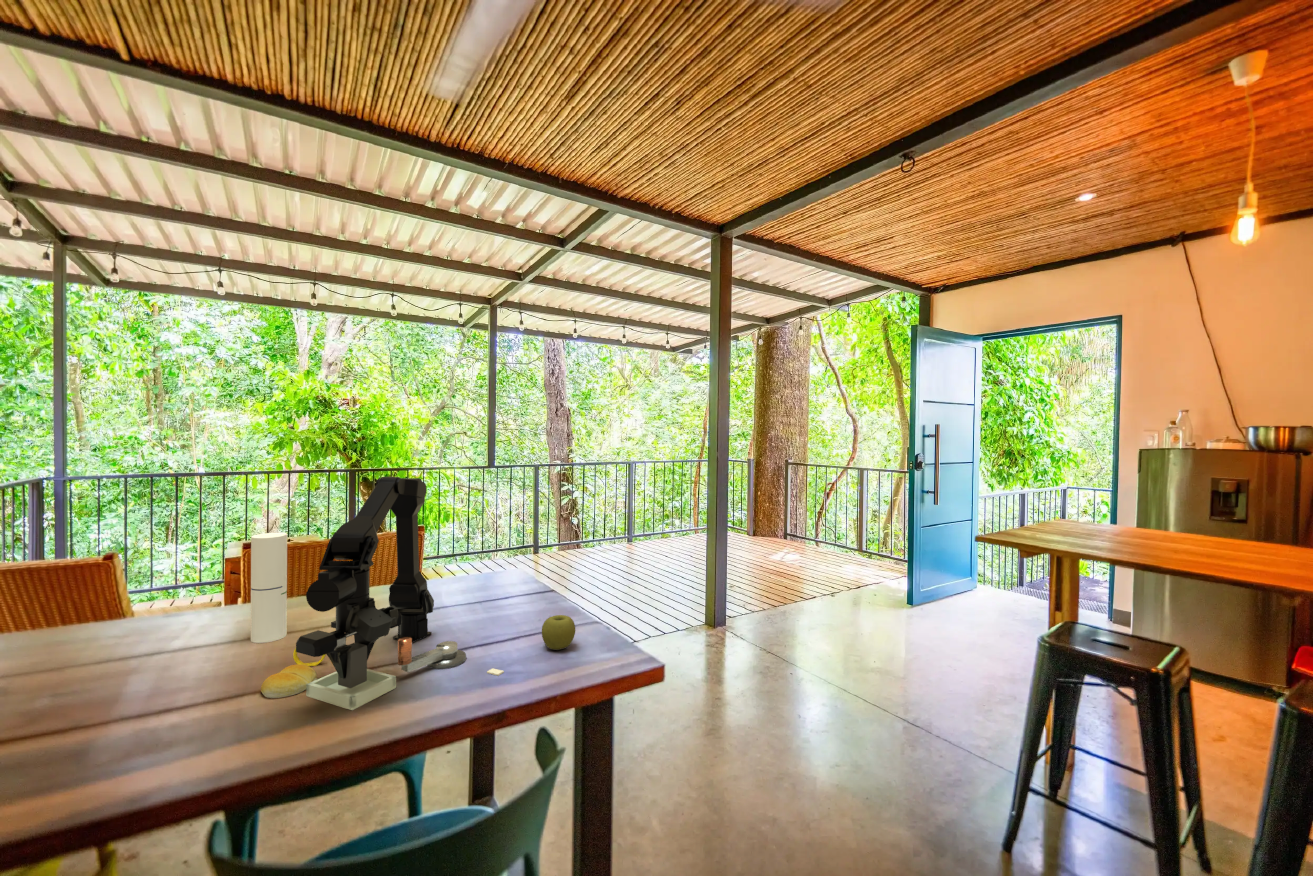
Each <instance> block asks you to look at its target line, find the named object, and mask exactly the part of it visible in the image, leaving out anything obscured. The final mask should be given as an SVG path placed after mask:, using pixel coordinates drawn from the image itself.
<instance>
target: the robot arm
mask: <svg viewBox="0 0 1313 876" xmlns="http://www.w3.org/2000/svg"><path fill="white" fill-rule="evenodd" d="M375 482H376V483H375V487H374V488H373V489H372V491H371V493H370V495H368V497H367V499H366V501H365V502H364V503H363V505H362V507H361V508H360V509H359V511H358V513H357V514H356V515H355V517H354V518H353V519H351V520H348V521H347V522H345V523H342V525H341V526H340V527H339V528H338V529H336V531H335V532H334V533H333V534H332V536H331V537H330V538H329V541H328V543H327V547H326V549H325V550H324V551H325V552H324V554H323V557H322V560H321V562H320V565H319V571H320V572H318V574H317V579H316V580H315V581H313V582H312V583H311V584H310V585H309V586H308V587H307V588H308V589H307V591H306V593H305V597H306V601H307V604H308V605H309V607H311V609H312V610H314V611H317V612H321V613H324V612H328V611H330V610H333V609H334V608H335V620H333V621H332V622H330V628H333V629H335V630H334V631H331V632H327V631H323V630H319V629H317V630H314V631H312V632H309V633H306V634H302V635H301V636H299V637H298V638H297V640H296V642H295V648H296V652H297V654H298V653H299V654H302V655H306V656H310V657H313V658H318V657H322V656H323V655H324V654H326V656H327V657H328V659H329V661H330V662H331V664H332V666H333V667H334V669H335V672H336V671H337V673H338V675H339V676H340V678H342V679H344V678H346V672H347V652H348V650H349V649H350V648H351V646H350V645H349V644H347V638H349V637H351V636H353V637H354V639H353V640H354V643H359V644H363V645H367V661H368V660H369V657H370V655H371V652H372V649H373V647H374V645H375V643H376V642H377V640H379V638H382V637H386V636H388V635H389V633H390V630H391V629H394V628H396V627H397V634H396V635H393V636H392V639H393V640H397V641H398V639H400V638H403V637H411V638H412V644H413V643H415V642H417V641H419V640H422V639H425V638H426V637H428V636H430V635H431V636H432V631H428V627H429V626H428V624H429V623H428V614H431V613H433V612H434V606H435V605H434V604H435V600H434V597H433V596H432V594H431V593H430V591H429V589H428V581H427V579H426V578H425V576H424V575H423V574H422V572H421V571H420V551H419V548H420V547H419V546H420V545H419V541H420V540H419V513H420V510H421V509H422V507H423V505H424V504H425V502H426V501H425V500H426V495H427V491H428V489H427V487H428V486H427V484H426V483H425V482H424V481H423V480H422V478H419V477H418V478H417V477H416V478H415V477H412V478H408V477H407V478H406V477H401V476H381V477H379V478H377V479H376V481H375ZM390 510H391V512H392V513H393V514H394V516H395V528H396V530H395V531H396V533H395V535H396V560H397V561H396V564H397V565H396V566H397V569H396V570H397V576H396V577H395V579H394V581H393V582H392V584H390V585H389V588H388V589H389V591H388V592H389V595H388V605H389V606H387V607H382V608H377V606H376V601H375V598H374V597H370V575H371V574H370V570H371V569H370V568H371V567H372V566H374V561H373V557H374V555H375V553H376V551H377V548H378V543H379V542H380V541H379V540H380V539H379V537H378V531H379V529H380V528H381V525H382V523H383V522H384V521H385V518H386V516H387V515H388V514H389V512H390ZM334 559H335V560H334Z"/></svg>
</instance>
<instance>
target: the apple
mask: <svg viewBox="0 0 1313 876" xmlns="http://www.w3.org/2000/svg"><path fill="white" fill-rule="evenodd" d="M575 635H576V625H575V621H574V620H573V618H572V617H570V616H569V615H564V614H555V615H553V616H549V617H548V618H546V619H545V621H544V622H543V624H542V626H541V637H542V641H543V643H544V644H545V646H546V647H547V648H548V649H550V650H554V651H555V650H556V651H558V650H559V651H560V650H563V649H566V648H568V647H569V646H570V645H571V644H572V642H573V641H574V638H575Z"/></svg>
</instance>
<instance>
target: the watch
mask: <svg viewBox="0 0 1313 876" xmlns="http://www.w3.org/2000/svg"><path fill="white" fill-rule="evenodd" d="M326 656H327V654H324V655H322V656H321V659H319V660H318V661H314V662H313V661H312V662H303V661H302V660H300V658H299V656H298V652H296V647H295V649H294V650H293V655H292V658H293V660H294V663H295V664H303V665H307V666H309V667H314V666H315V667H317V666H319V664H320V663H322V662H323V661H324V659H325V657H326Z"/></svg>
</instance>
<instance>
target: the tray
mask: <svg viewBox="0 0 1313 876" xmlns="http://www.w3.org/2000/svg"><path fill="white" fill-rule="evenodd" d="M396 688H397V676H396V675H393V674H388V673H385V672H382V671H377V670H374V669H371V668H367V681H365V682H363V683H361V684H359V685H357V686H355V687H353V688H347V687H344V686H341V685H338V673H337V671H336V670H335V671H334V672H332V673H330V674H327V675H325V676H322V677H321V678H317V680H315V681H313V682H310V683H308V684H306V690H305V691H306V693H305V694H306V695H305V696H306V697H308V698H311V699H314V700H318V701H320V702H324V703H327V704H331V705H333V706H337V707H340V708H343V709H346V710H350V711H354V710H356V709H357V708H360V707H362V706H364V705H366V704H368V703H369V702H371V701H373V700H375V699H377V698H379V697H381V696H382V695H384V694H387V693H389V692H391V691H392V690H395V689H396Z"/></svg>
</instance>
